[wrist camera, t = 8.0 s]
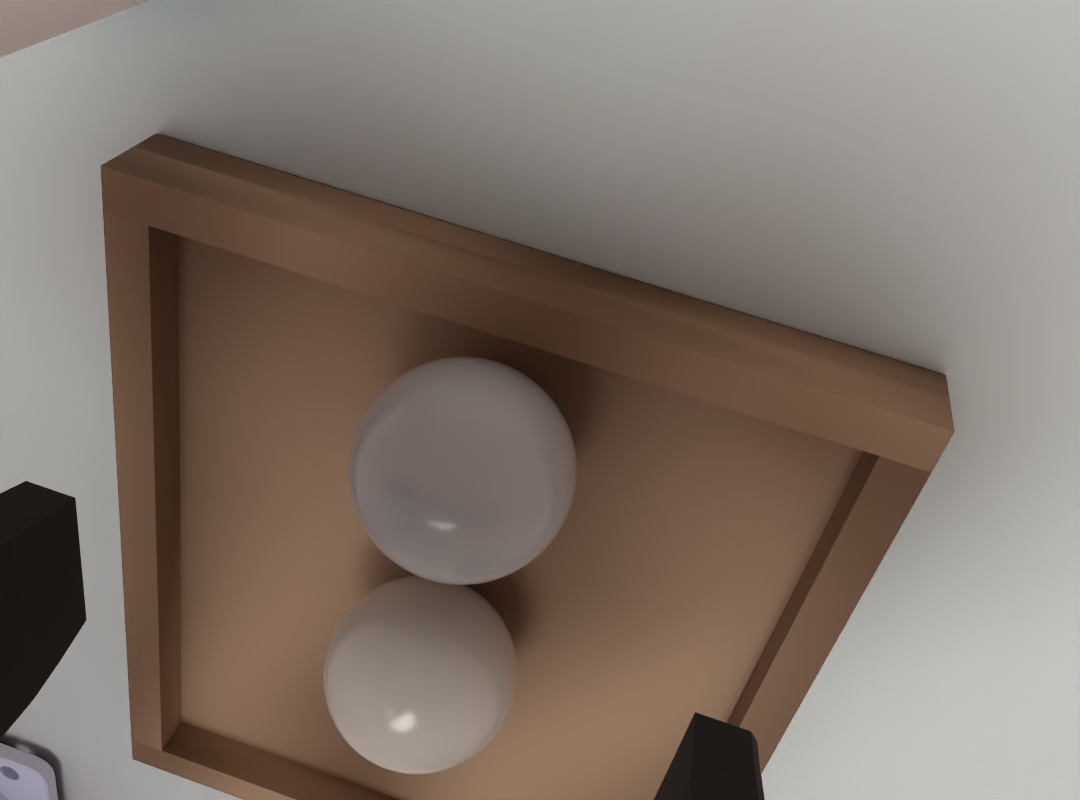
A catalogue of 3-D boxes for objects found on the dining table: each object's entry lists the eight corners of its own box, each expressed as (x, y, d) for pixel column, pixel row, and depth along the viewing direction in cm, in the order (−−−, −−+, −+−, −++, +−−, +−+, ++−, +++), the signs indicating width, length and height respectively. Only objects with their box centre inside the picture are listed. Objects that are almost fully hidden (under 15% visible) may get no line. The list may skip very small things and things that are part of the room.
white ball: (359, 635, 19) (284, 775, 17) (377, 513, 17) (296, 648, 15) (519, 690, 19) (467, 841, 16) (554, 572, 17) (503, 721, 15)
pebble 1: (386, 455, 17) (302, 588, 14) (410, 289, 15) (319, 406, 12) (571, 516, 16) (520, 662, 14) (620, 354, 15) (571, 489, 12)
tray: (167, 709, 23) (132, 758, 22) (156, 133, 15) (100, 165, 14) (670, 889, 22) (660, 951, 21) (945, 375, 14) (955, 431, 13)
